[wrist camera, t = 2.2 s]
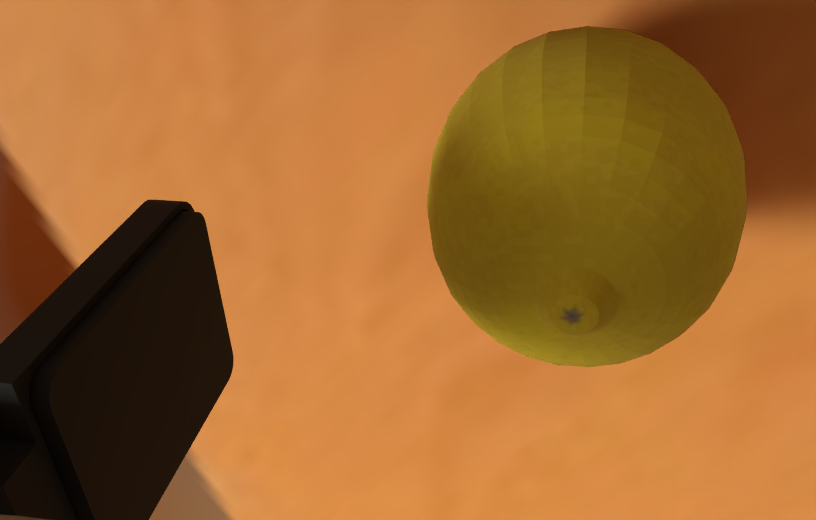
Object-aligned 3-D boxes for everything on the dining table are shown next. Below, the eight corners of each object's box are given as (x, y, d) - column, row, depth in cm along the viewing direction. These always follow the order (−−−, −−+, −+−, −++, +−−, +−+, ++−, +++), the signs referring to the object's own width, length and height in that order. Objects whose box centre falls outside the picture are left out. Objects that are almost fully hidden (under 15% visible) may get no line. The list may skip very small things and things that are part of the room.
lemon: (660, -68, 15) (707, 54, 8) (748, 166, 17) (843, 412, 10) (421, 55, 17) (309, 226, 11) (525, 246, 19) (486, 490, 13)
